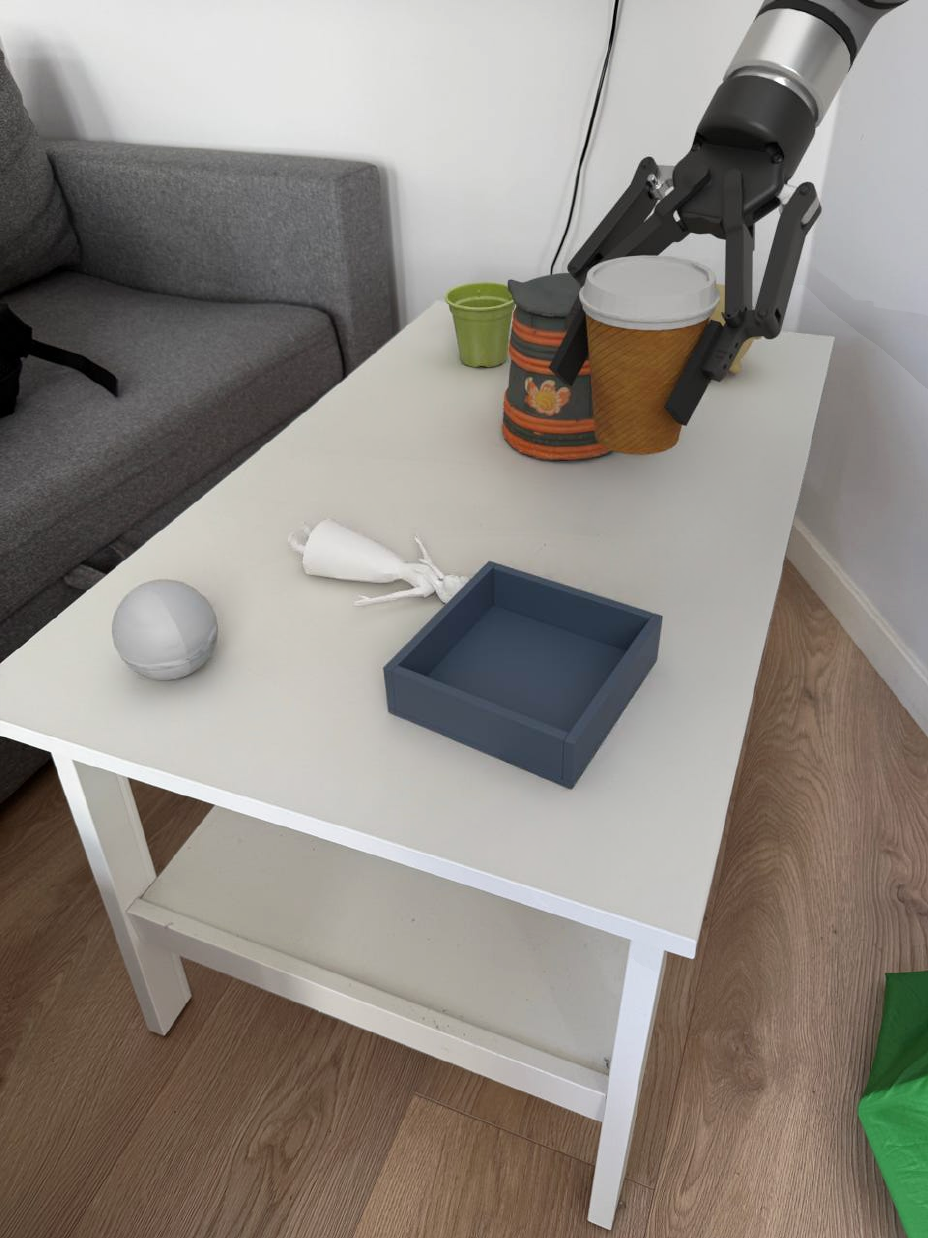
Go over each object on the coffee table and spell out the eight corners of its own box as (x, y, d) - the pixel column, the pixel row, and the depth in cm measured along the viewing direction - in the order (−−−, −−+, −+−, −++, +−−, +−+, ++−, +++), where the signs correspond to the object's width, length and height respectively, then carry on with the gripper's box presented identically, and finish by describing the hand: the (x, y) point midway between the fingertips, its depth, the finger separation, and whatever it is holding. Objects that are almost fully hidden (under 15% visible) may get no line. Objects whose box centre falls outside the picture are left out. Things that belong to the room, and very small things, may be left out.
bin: (657, 660, 74) (663, 615, 71) (571, 790, 63) (574, 744, 61) (489, 603, 80) (489, 560, 77) (387, 712, 70) (382, 667, 67)
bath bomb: (244, 645, 77) (225, 567, 72) (194, 709, 71) (170, 630, 66) (161, 629, 79) (137, 552, 74) (107, 690, 73) (77, 612, 68)
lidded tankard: (678, 416, 107) (701, 238, 94) (656, 477, 96) (678, 286, 83) (522, 397, 112) (523, 226, 99) (485, 453, 101) (481, 270, 89)
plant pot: (481, 380, 116) (479, 313, 111) (433, 360, 122) (429, 294, 116) (533, 359, 121) (534, 293, 116) (485, 340, 127) (483, 276, 121)
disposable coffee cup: (703, 469, 65) (727, 301, 57) (569, 463, 66) (575, 298, 59) (698, 410, 72) (719, 253, 65) (577, 405, 74) (584, 252, 66)
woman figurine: (328, 487, 88) (500, 538, 82) (331, 525, 91) (497, 577, 85) (257, 551, 80) (442, 612, 74) (263, 591, 82) (442, 652, 77)
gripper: (932, 162, 61) (768, 464, 62) (654, 125, 73) (522, 378, 74) (920, 82, 54) (738, 420, 56) (619, 56, 67) (475, 333, 68)
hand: (615, 396), depth 65 cm, fingers closed on disposable coffee cup, 9 cm apart
